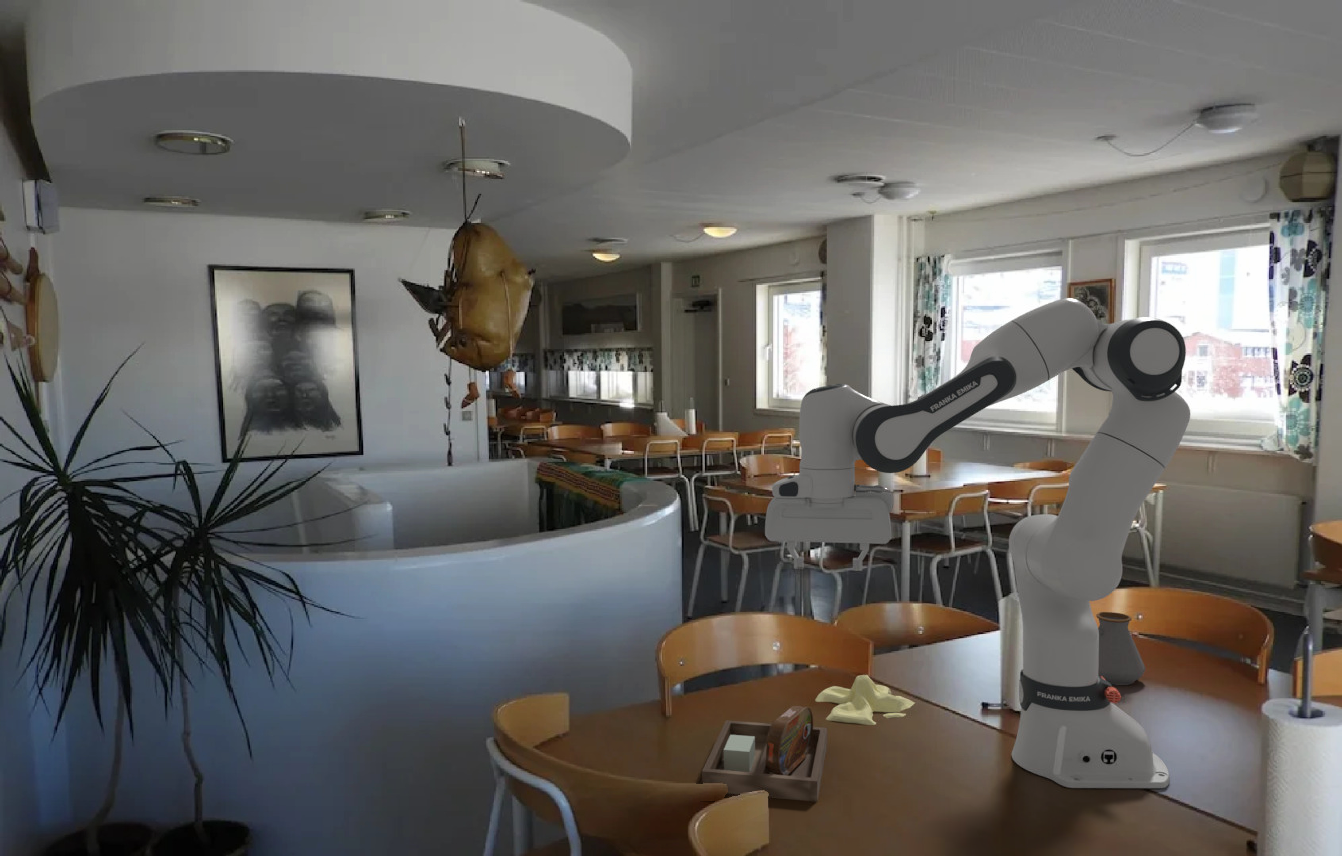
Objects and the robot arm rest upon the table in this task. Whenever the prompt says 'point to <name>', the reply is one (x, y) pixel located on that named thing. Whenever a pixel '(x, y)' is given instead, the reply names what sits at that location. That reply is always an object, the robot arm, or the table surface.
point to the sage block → (739, 753)
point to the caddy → (794, 786)
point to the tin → (789, 740)
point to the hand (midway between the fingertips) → (828, 569)
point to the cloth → (862, 702)
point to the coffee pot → (1117, 650)
